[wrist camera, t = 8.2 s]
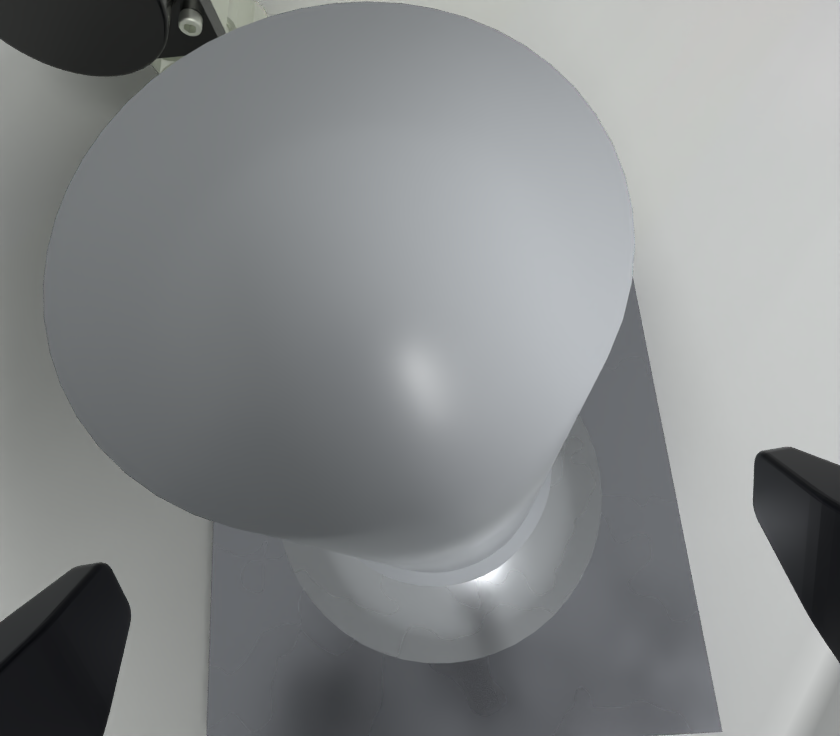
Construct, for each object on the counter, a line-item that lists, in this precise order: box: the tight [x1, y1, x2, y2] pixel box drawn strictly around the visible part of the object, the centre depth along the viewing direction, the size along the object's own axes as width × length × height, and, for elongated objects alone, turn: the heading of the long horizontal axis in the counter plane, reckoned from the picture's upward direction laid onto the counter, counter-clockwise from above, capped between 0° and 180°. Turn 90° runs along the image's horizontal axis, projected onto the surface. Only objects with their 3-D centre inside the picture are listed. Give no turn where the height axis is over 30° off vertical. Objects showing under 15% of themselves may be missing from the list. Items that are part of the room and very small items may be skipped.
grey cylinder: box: [43, 2, 635, 586], centre depth 11 cm, size 6×6×12 cm
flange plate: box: [207, 276, 722, 736], centre depth 17 cm, size 12×12×1 cm
